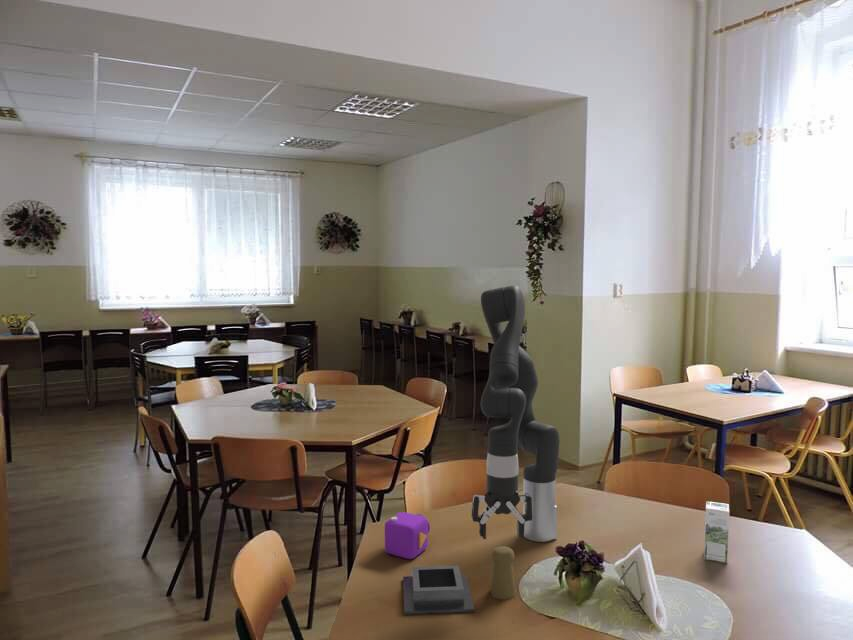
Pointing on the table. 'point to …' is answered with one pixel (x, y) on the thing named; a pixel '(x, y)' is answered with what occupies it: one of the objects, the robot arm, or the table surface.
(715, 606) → the table surface
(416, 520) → the toy camera
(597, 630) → the table surface
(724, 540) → the syrup box
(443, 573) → the collar mount
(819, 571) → the table surface
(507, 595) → the cork
